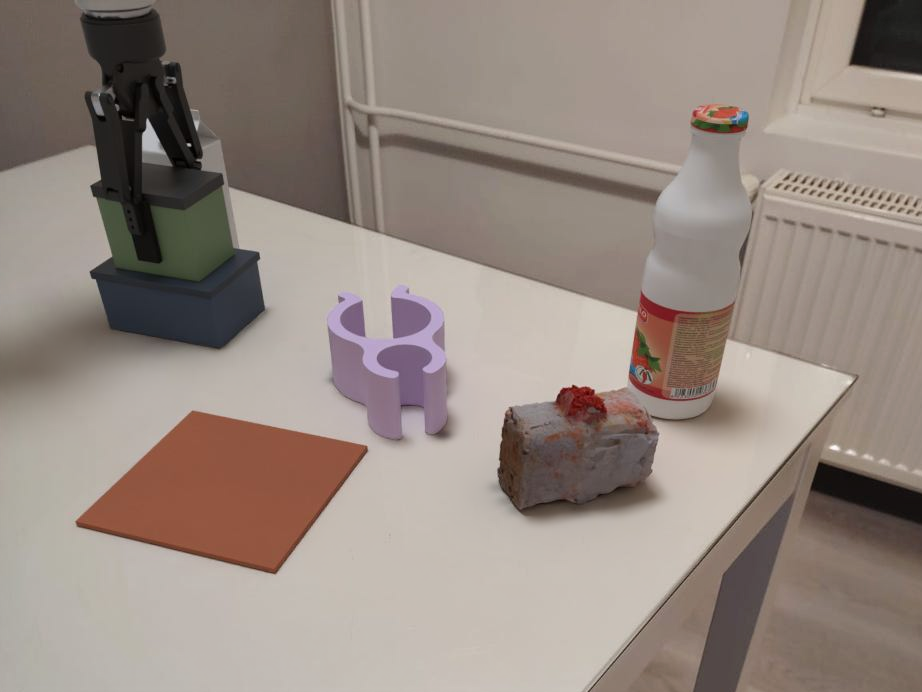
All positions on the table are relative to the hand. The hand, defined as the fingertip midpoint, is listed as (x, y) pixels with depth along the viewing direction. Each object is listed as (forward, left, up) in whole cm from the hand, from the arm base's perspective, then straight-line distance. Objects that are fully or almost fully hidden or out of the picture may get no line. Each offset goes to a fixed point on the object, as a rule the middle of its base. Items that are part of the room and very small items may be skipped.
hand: (172, 245), depth 103 cm
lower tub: (0, 0, -9) cm, 9 cm away
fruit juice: (+59, +1, -9) cm, 60 cm away
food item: (+53, -18, -9) cm, 57 cm away
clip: (+30, -7, -9) cm, 32 cm away
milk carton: (-6, +14, -9) cm, 18 cm away
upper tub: (0, 0, -2) cm, 2 cm away
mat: (+22, -29, -9) cm, 37 cm away
